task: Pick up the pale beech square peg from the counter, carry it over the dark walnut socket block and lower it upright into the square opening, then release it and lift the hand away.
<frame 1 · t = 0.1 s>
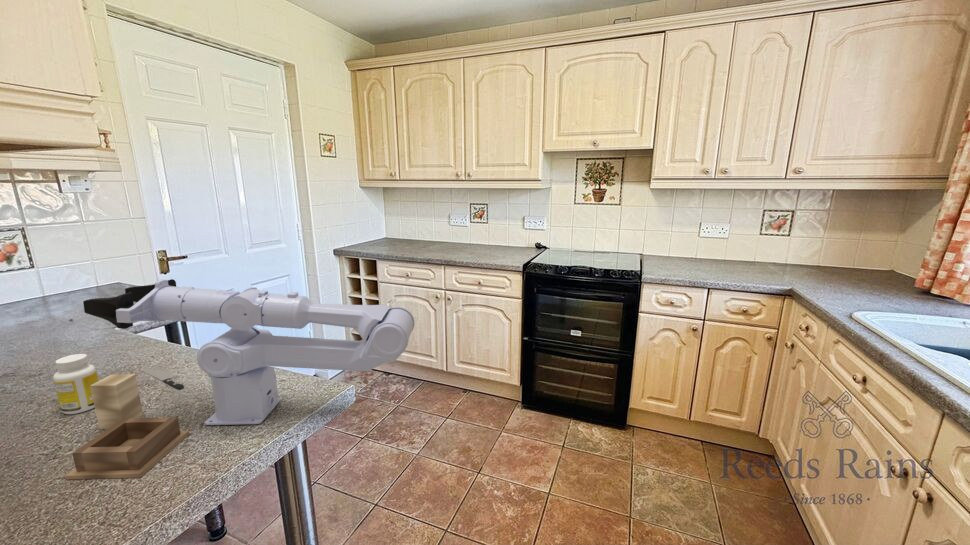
hand: (107, 299, 65), 22 cm above the countertop, tool horizontal, fingers open, 7 cm apart
supplement bottle: (83, 408, 72), on the countertop
peg: (121, 421, 67), on the countertop
chef's knife: (165, 378, 84), on the countertop
cup socket: (133, 454, 59), on the countertop
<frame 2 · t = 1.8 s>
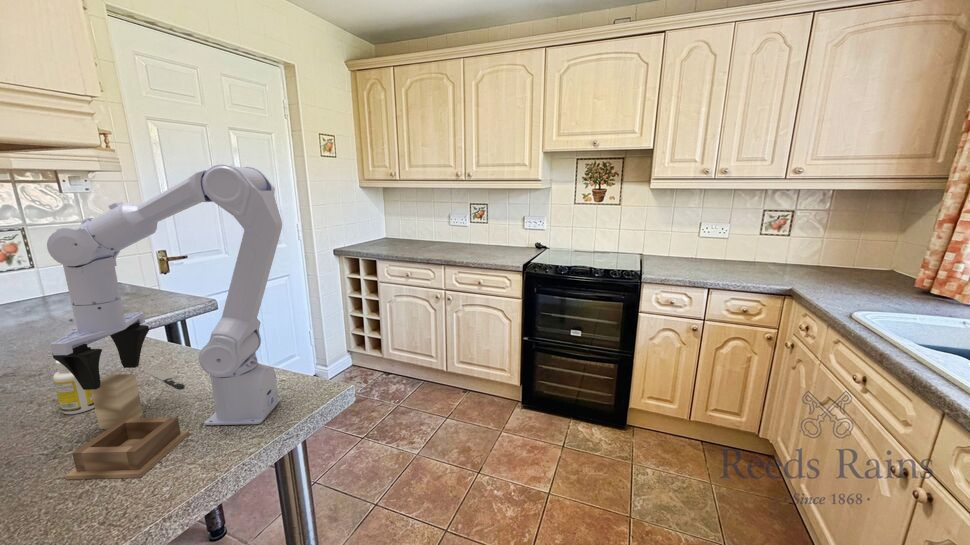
hand: (112, 377, 66), 8 cm above the countertop, tool pointing down, fingers open, 7 cm apart
nothing on the countertop moved.
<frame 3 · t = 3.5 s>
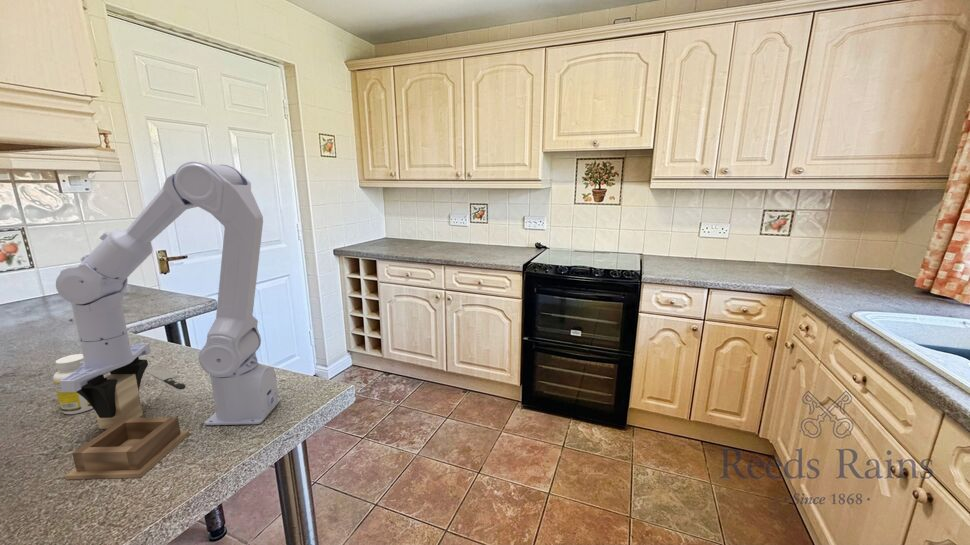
hand: (119, 409, 67), 2 cm above the countertop, tool pointing down, fingers closed on peg, 4 cm apart
peg: (121, 421, 67), on the countertop, touching gripper
everything else where it was.
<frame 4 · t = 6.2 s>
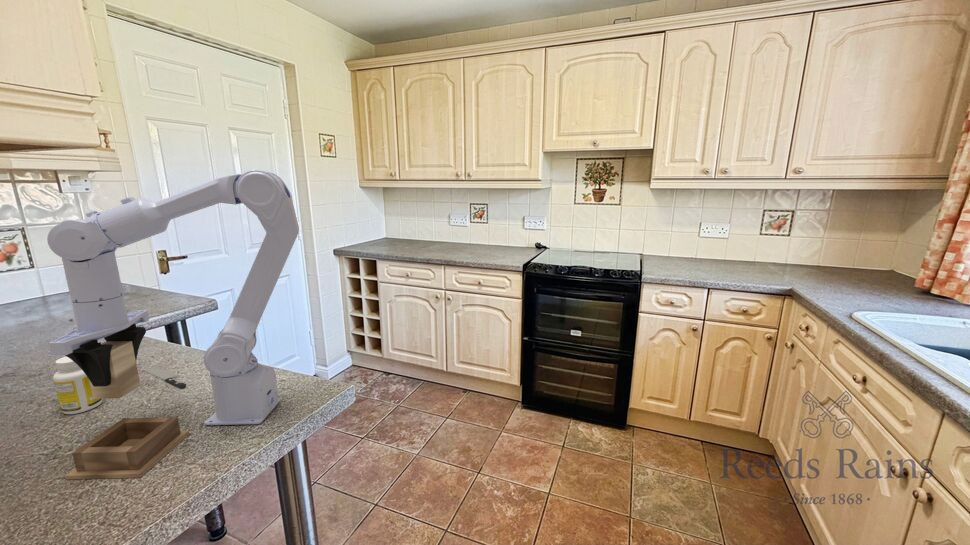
hand: (115, 378, 62), 10 cm above the countertop, tool pointing down, fingers closed on peg, 4 cm apart
peg: (117, 391, 63), point 7 cm above the countertop, touching gripper
everything else where it was.
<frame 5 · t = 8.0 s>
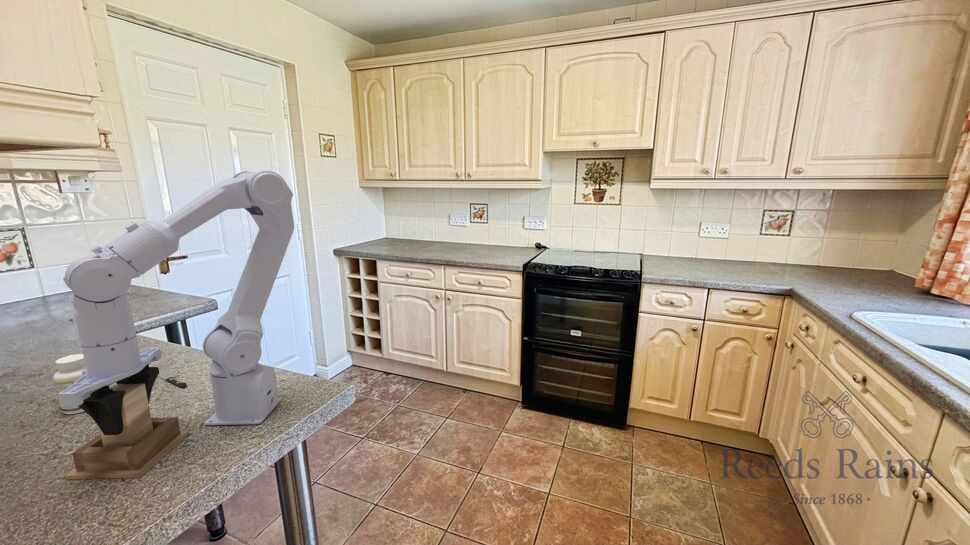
hand: (126, 424, 58), 5 cm above the countertop, tool pointing down, fingers closed on peg, 4 cm apart
peg: (129, 438, 59), point 3 cm above the countertop, touching gripper
everything else where it was.
when the fingers open (4 cm above the countertop, at t = 9.2 s): peg drops 1 cm, resting on cup socket.
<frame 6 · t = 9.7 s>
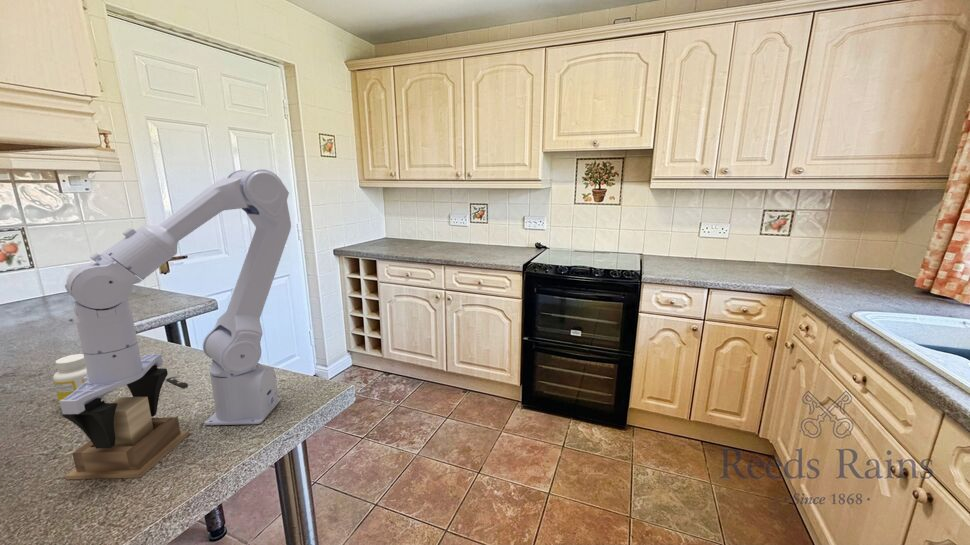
hand: (128, 430, 58), 4 cm above the countertop, tool pointing down, fingers open, 7 cm apart
peg: (132, 451, 59), point 1 cm above the countertop, touching cup socket
everything else where it was.
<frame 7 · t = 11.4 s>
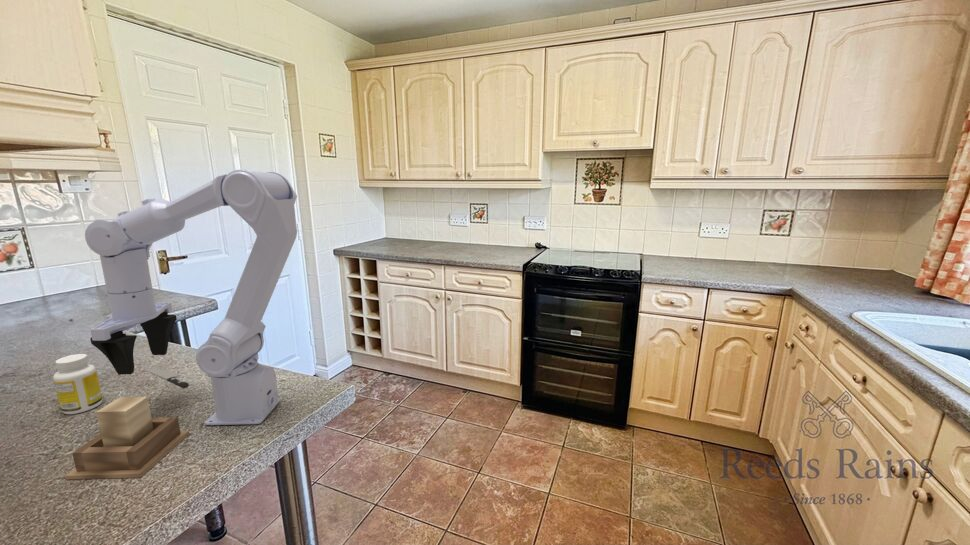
hand: (143, 363, 69), 9 cm above the countertop, tool pointing down, fingers open, 7 cm apart
nothing on the countertop moved.
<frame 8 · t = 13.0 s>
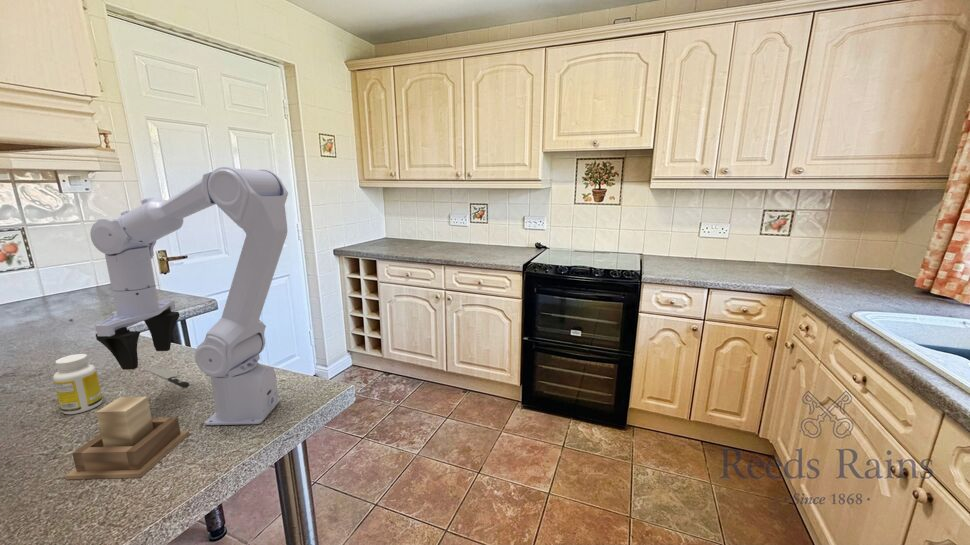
hand: (147, 359, 70), 9 cm above the countertop, tool pointing down, fingers open, 7 cm apart
nothing on the countertop moved.
at the end: peg 0.0 cm off-centre on the cup socket, point 0.6 cm above the cup socket's base; peg tilted 0°; the gripper is holding nothing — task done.
